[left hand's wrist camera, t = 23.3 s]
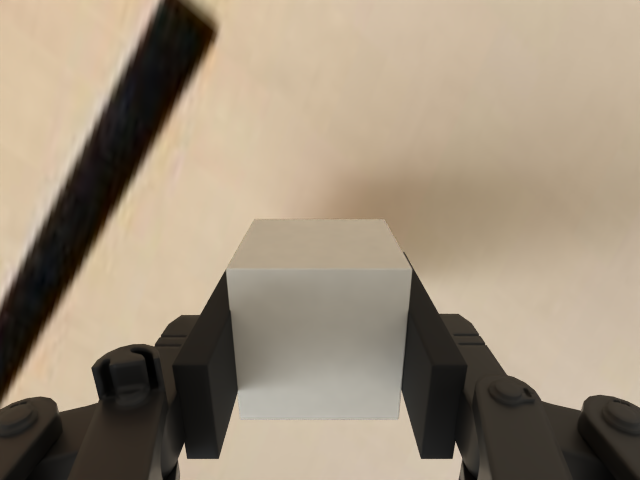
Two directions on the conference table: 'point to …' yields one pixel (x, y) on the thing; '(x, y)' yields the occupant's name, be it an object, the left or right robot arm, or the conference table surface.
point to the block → (319, 319)
